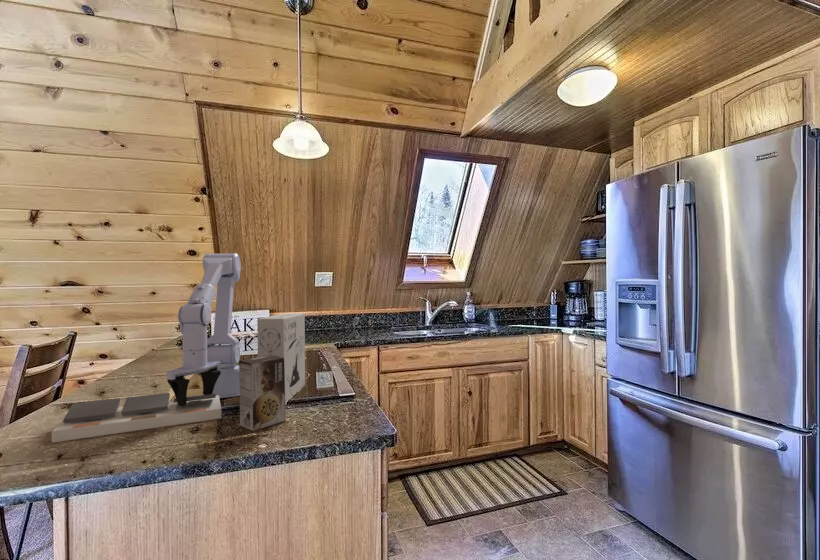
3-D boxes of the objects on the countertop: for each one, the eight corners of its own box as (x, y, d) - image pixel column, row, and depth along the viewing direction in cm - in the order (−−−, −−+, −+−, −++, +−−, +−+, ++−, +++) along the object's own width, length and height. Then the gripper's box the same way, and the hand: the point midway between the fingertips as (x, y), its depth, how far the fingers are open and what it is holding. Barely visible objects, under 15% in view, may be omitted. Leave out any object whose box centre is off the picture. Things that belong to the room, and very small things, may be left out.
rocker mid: (169, 396, 110) (169, 392, 110) (167, 409, 103) (167, 406, 103) (126, 401, 106) (126, 397, 105) (121, 415, 99) (121, 411, 98)
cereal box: (284, 407, 115) (283, 318, 115) (257, 407, 115) (257, 318, 115) (305, 387, 136) (304, 313, 137) (283, 388, 136) (282, 313, 137)
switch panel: (219, 403, 119) (218, 392, 119) (221, 418, 105) (221, 405, 105) (70, 422, 103) (70, 409, 103) (51, 442, 90) (51, 427, 90)
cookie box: (272, 416, 106) (271, 354, 107) (286, 421, 102) (285, 357, 103) (238, 425, 99) (238, 359, 100) (252, 431, 95) (252, 362, 96)
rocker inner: (214, 397, 115) (214, 393, 115) (215, 397, 108) (215, 393, 108) (175, 401, 110) (175, 397, 111) (173, 402, 104) (173, 398, 104)
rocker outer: (120, 401, 105) (120, 398, 105) (114, 416, 98) (114, 412, 98) (73, 407, 101) (72, 403, 100) (63, 423, 94) (63, 419, 93)
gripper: (207, 344, 115) (208, 393, 115) (158, 352, 102) (158, 407, 101) (226, 346, 112) (226, 395, 112) (177, 354, 99) (177, 410, 98)
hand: (195, 401), depth 106 cm, fingers open, 7 cm apart
